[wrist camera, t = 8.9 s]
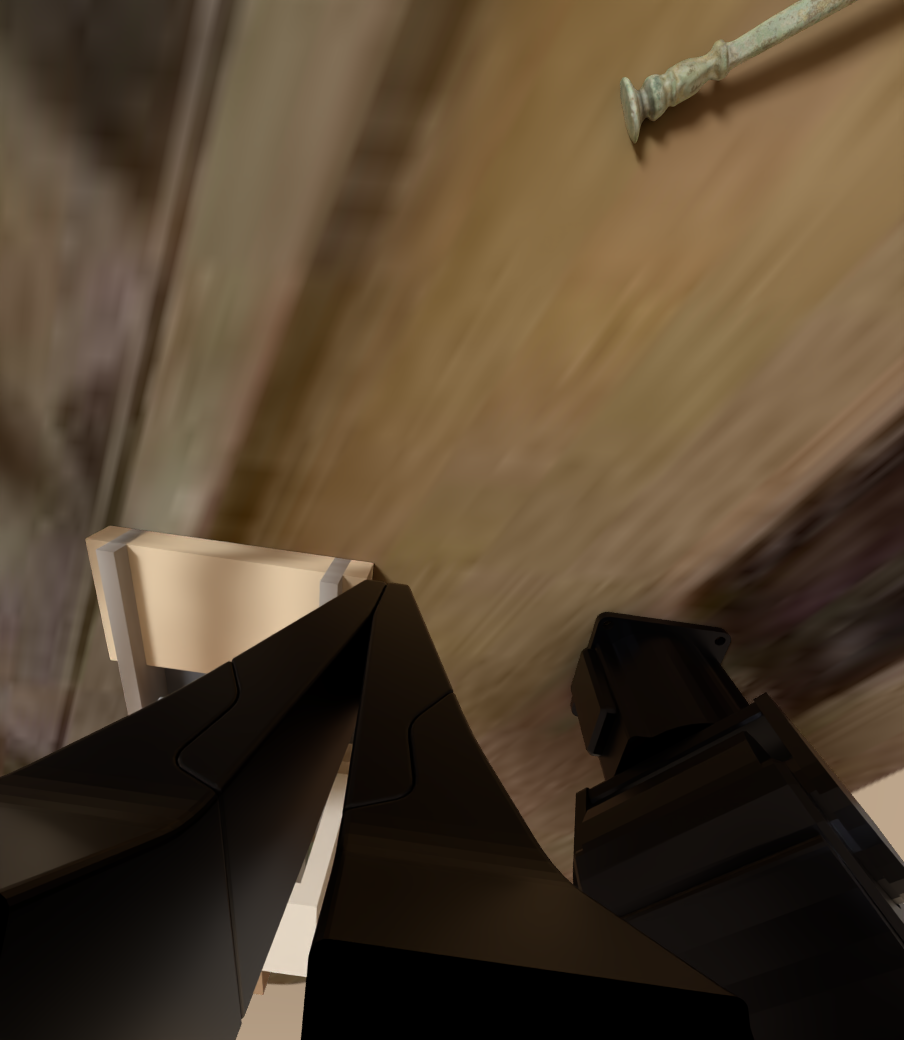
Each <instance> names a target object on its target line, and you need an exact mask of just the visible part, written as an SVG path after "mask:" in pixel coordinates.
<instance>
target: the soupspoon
mask: <svg viewBox="0 0 904 1040" xmlns="http://www.w3.org/2000/svg"><path fill="white" fill-rule="evenodd" d="M855 1H857V0H800V1H798V2H796V3H794V4H793V5H791V6H789V7H788V8H786V9H785V10H783V11H781V12H779V13H778V14H776V15H774V16H773V17H771V18H770V19H768V20H766V21H765V22H763V23H761V24H760V25H758V26H757V27H755V28H754V29H752V30H750V31H749V32H748V33H746V34H744V35H742V36H741V37H739V38H738V39H736V40H734V41H731V42H727V43H725V42H724V41H723V40H722V39H721V40H718V41H717V42H715V44H714V45H713V47H712V49H711V51H710V52H709V53H707V54H706V55H704V56H700V57H697V58H689V59H686V60H684V61H681V62H679V63H678V64H676V65H674V66H672V67H671V68H669V69H668V70H667V71H666V73H665V74H664V75H658V74H655V75H651V76H649V77H647V78H646V80H645V81H644V83H643V85H642V87H641V89H640V90H639V91H638V90H636V89H635V88H634V87H633V85H632V84H631V82H630V80H629V79H628V78H622V80H621V82H620V89H621V102H622V108H623V111H624V117H625V123H626V127H627V131H628V133H629V136H630V138H631V140H632V141H633V143H636V142H637V140H638V137H639V132H640V127H641V124H642V122H643V121H644V119H645V118H648V119H650V120H651V121H655V120H657V119H658V118H659V117H660V116H661V115H662V114H663V113H664V112H665V111H666V109H667V108H668V107H669V106H672V107H674V106H676V105H677V104H679V103H681V102H683V101H684V100H686V99H688V98H690V97H691V96H693V95H694V94H696V93H697V92H698V91H699V90H700V88H701V87H702V86H703V85H704V84H705V83H706V82H707V81H708V80H718V81H720V80H722V79H723V78H725V77H726V76H727V74H728V72H729V71H730V70H731V69H733V68H734V67H736V66H737V65H739V64H741V63H743V62H745V61H747V60H749V59H750V58H752V57H754V56H756V55H758V54H760V53H762V52H764V51H766V50H767V49H769V48H771V47H773V46H775V45H777V44H779V43H781V42H782V41H784V40H786V39H788V38H790V37H791V36H793V35H795V34H797V33H799V32H801V31H803V30H805V29H806V28H808V27H810V26H812V25H814V24H815V23H817V22H819V21H821V20H823V19H825V18H827V17H828V16H830V15H832V14H834V13H836V12H837V11H839V10H841V9H843V8H845V7H847V6H848V5H850V4H852V3H853V2H855Z"/></svg>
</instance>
